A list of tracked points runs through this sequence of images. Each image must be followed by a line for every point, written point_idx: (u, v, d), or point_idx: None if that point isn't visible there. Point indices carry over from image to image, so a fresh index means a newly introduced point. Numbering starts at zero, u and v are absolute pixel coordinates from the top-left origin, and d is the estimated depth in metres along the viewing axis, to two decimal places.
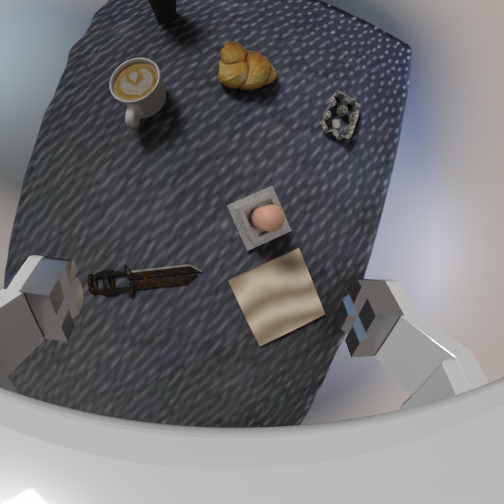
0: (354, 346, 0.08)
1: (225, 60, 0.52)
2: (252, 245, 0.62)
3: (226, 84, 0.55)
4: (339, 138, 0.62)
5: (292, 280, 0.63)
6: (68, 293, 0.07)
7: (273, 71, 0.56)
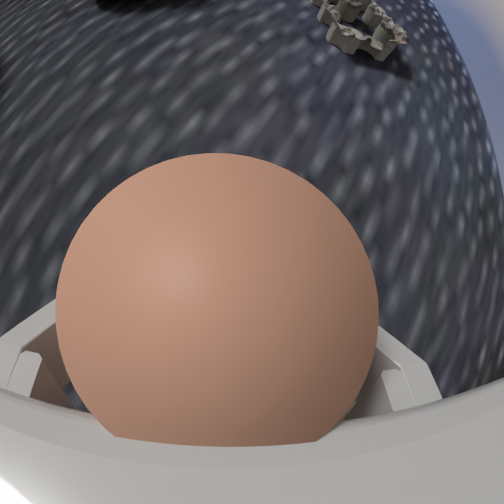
0: None
1: None
2: None
3: None
4: (384, 54, 0.21)
5: None
6: None
7: None
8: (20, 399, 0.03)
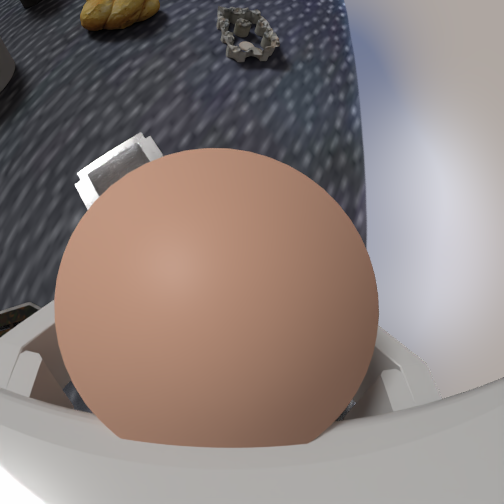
0: None
1: None
2: None
3: (87, 23, 0.29)
4: (265, 56, 0.36)
5: None
6: None
7: None
8: (20, 399, 0.03)
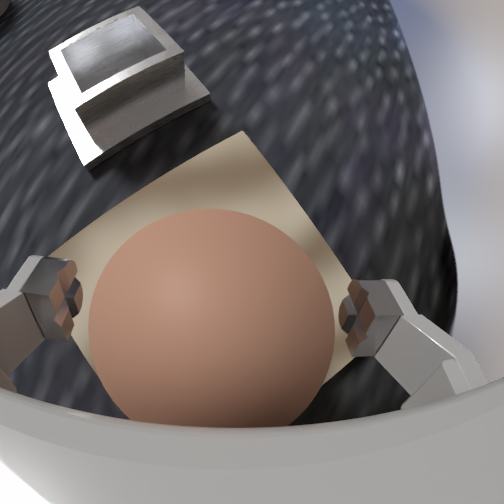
0: (354, 346, 0.08)
1: None
2: (98, 147, 0.17)
3: None
4: None
5: None
6: (68, 293, 0.07)
7: None
8: (20, 399, 0.03)
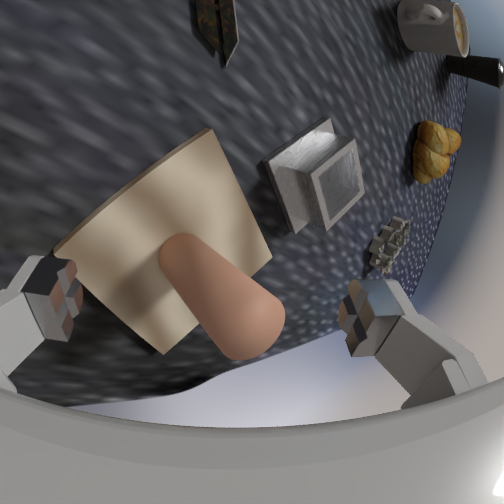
0: (354, 346, 0.08)
1: (448, 133, 0.44)
2: (277, 170, 0.30)
3: (429, 129, 0.44)
4: (373, 264, 0.52)
5: None
6: (68, 293, 0.07)
7: (429, 180, 0.50)
8: (20, 399, 0.03)
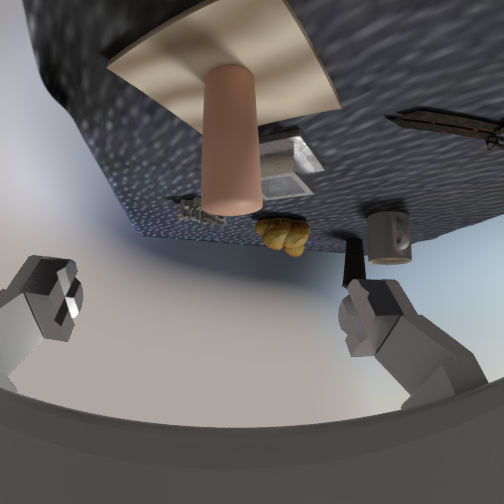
0: (354, 346, 0.08)
1: (301, 246, 0.72)
2: (290, 140, 0.34)
3: (303, 230, 0.67)
4: (182, 204, 0.60)
5: None
6: (68, 293, 0.07)
7: (259, 233, 0.71)
8: (20, 399, 0.03)
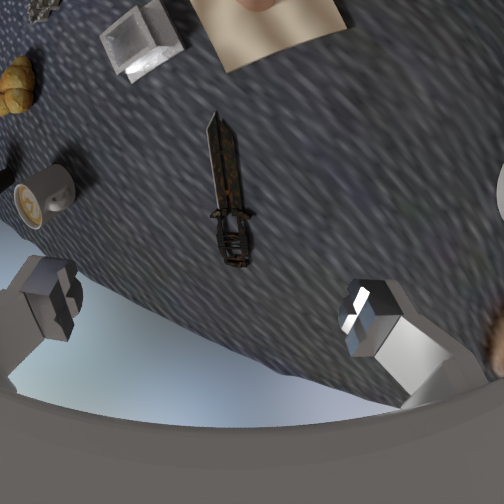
0: (354, 346, 0.08)
1: (6, 111, 0.40)
2: (176, 43, 0.32)
3: (26, 104, 0.41)
4: None
5: None
6: (68, 293, 0.07)
7: (15, 61, 0.35)
8: (20, 399, 0.03)
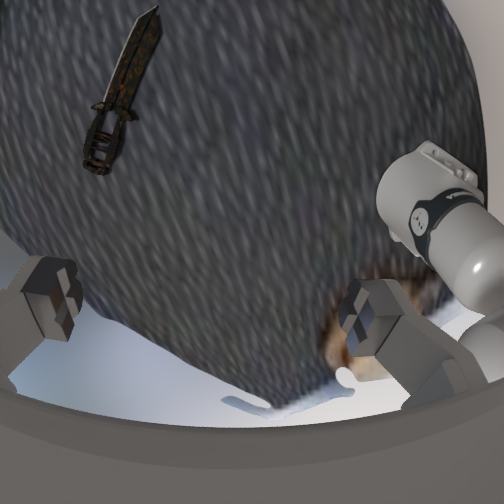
0: (354, 346, 0.08)
1: None
2: None
3: None
4: None
5: None
6: (68, 293, 0.07)
7: None
8: (20, 399, 0.03)
